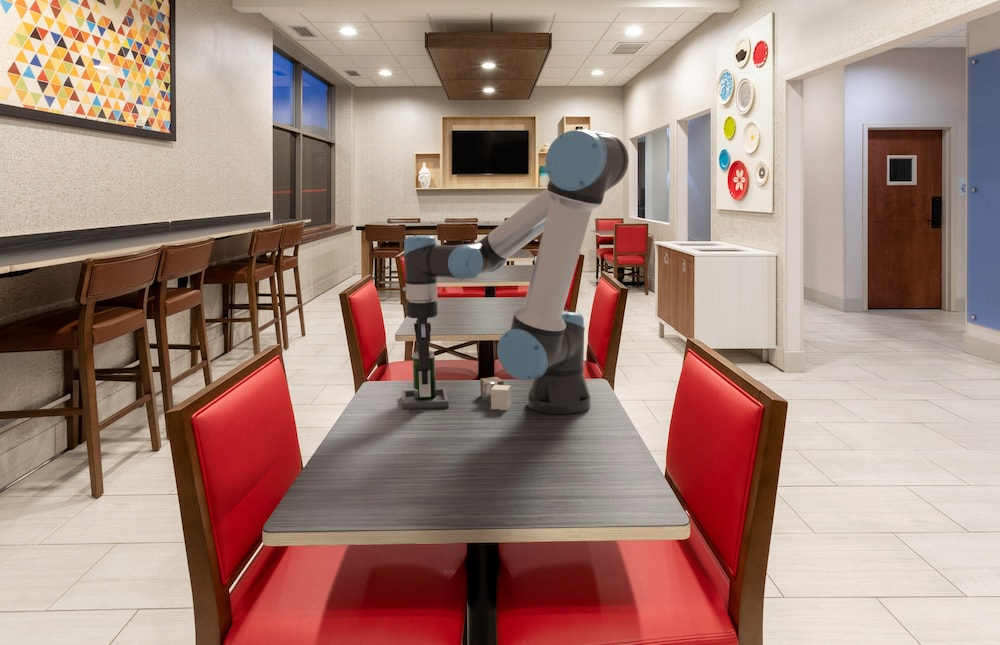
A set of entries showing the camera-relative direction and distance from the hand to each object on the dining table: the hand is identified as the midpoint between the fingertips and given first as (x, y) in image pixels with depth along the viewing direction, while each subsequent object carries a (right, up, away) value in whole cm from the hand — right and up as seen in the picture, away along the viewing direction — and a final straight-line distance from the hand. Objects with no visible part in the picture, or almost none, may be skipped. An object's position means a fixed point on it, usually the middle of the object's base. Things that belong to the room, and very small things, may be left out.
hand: (424, 391), depth 174 cm
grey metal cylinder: (+16, -3, 0) cm, 16 cm away
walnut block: (+17, -2, +4) cm, 17 cm away
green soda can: (0, -2, 0) cm, 2 cm away
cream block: (+19, -3, -4) cm, 20 cm away
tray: (0, -3, 0) cm, 3 cm away
